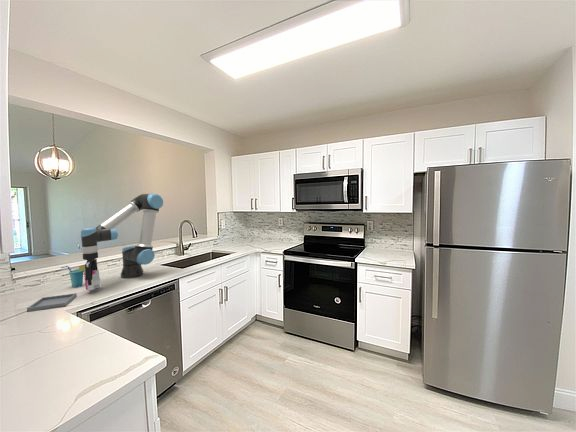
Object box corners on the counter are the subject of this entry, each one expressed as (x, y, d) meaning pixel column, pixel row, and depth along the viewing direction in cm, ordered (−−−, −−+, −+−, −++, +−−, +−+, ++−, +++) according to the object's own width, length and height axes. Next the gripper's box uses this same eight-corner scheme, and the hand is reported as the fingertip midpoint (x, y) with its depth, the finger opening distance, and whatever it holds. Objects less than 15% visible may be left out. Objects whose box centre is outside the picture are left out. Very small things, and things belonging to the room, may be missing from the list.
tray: (76, 296, 147) (76, 293, 147) (65, 306, 133) (65, 302, 133) (42, 300, 141) (42, 297, 141) (27, 311, 126) (26, 308, 126)
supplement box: (95, 286, 158) (94, 269, 158) (100, 287, 156) (99, 270, 155) (85, 289, 153) (83, 272, 152) (90, 291, 151) (88, 273, 150)
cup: (61, 290, 158) (59, 267, 157) (62, 287, 164) (60, 265, 163) (88, 285, 166) (87, 264, 166) (88, 282, 172) (87, 262, 172)
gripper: (88, 250, 161) (91, 283, 162) (76, 256, 142) (79, 294, 144) (102, 248, 164) (104, 281, 165) (92, 255, 145) (95, 292, 147)
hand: (93, 287), depth 155 cm, fingers closed on supplement box, 8 cm apart
